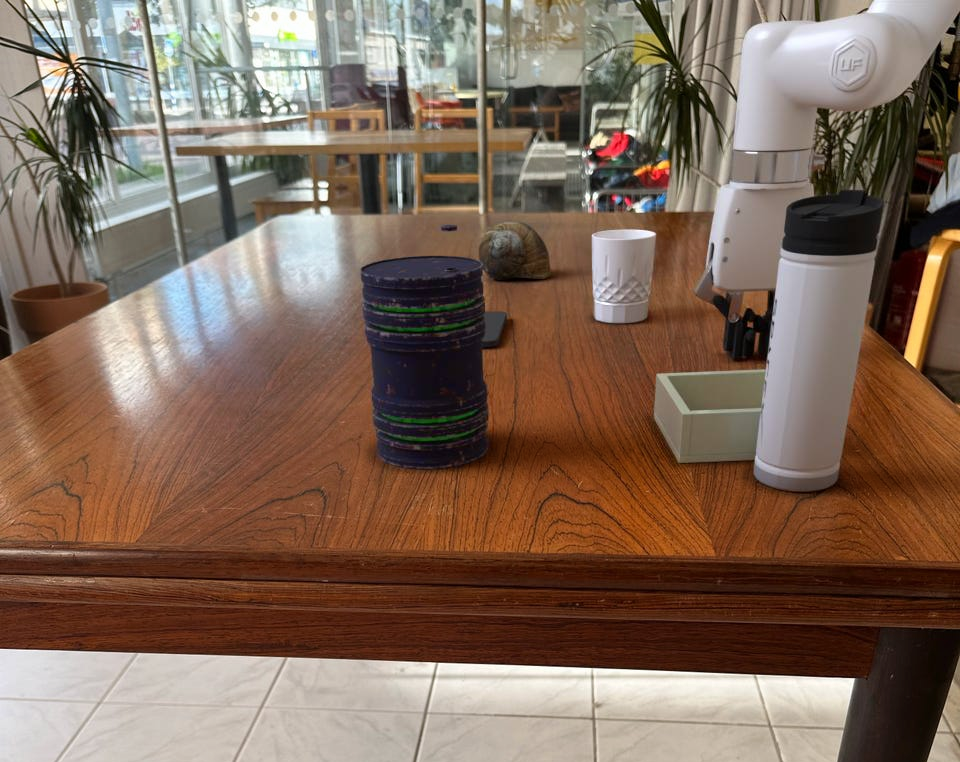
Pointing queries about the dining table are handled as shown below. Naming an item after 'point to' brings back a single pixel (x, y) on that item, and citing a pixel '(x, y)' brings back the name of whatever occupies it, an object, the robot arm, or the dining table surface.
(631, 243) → the white cup
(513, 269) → the seashell
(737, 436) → the box
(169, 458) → the dining table surface
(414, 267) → the storage jar
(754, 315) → the wireless earbuds
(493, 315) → the phone
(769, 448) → the travel mug
